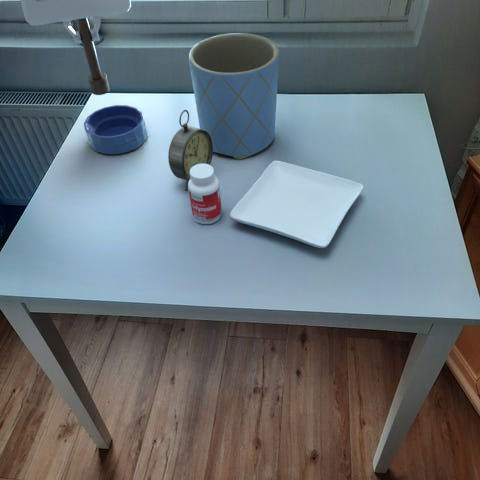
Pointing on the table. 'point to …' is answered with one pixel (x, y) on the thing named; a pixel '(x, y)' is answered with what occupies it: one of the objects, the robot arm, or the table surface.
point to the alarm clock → (189, 150)
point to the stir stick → (92, 60)
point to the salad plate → (297, 203)
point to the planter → (236, 91)
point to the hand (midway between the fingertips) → (87, 41)
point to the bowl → (115, 129)
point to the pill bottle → (204, 194)
